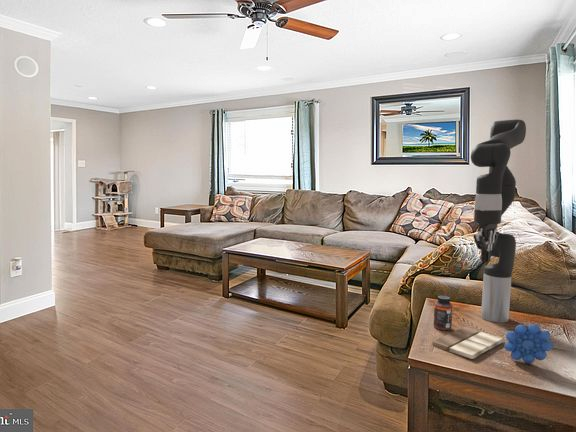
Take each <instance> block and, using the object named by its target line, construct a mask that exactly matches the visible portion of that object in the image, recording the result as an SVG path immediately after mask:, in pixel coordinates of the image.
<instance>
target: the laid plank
mask: <svg viewBox="0 0 576 432" xmlns="http://www.w3.org/2000/svg"><path fill="white" fill-rule="evenodd" d="M478 333H480V331H479V330H478V329H474V328H472V327H471V328H470V327H468V326H463V327H460V328H458V329H456V330H454V331H452V332H450V333H447V334H446V335H443V336H441V337H439V338H437V339H434V340H433V341H432V346H434V347H436V348H439V349H442V350H445V351H447V352H450V347H452V346H454V345H456V344H458V343H460V342H462V341H464V340H467V339H468V338H470V337H472V336H474V335H476V334H478Z"/></svg>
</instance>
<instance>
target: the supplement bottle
mask: <svg viewBox="0 0 576 432" xmlns="http://www.w3.org/2000/svg"><path fill="white" fill-rule="evenodd" d="M453 308H454V307H453V304H452V303H451V298H450V296H446V295H438V296H437V301H436V302H435V303H434V309H433V311H434V312H433V327H434V328H435V329H437V330H440V331H450V330H451V329H452V325H453V323H452V322H453Z"/></svg>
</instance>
